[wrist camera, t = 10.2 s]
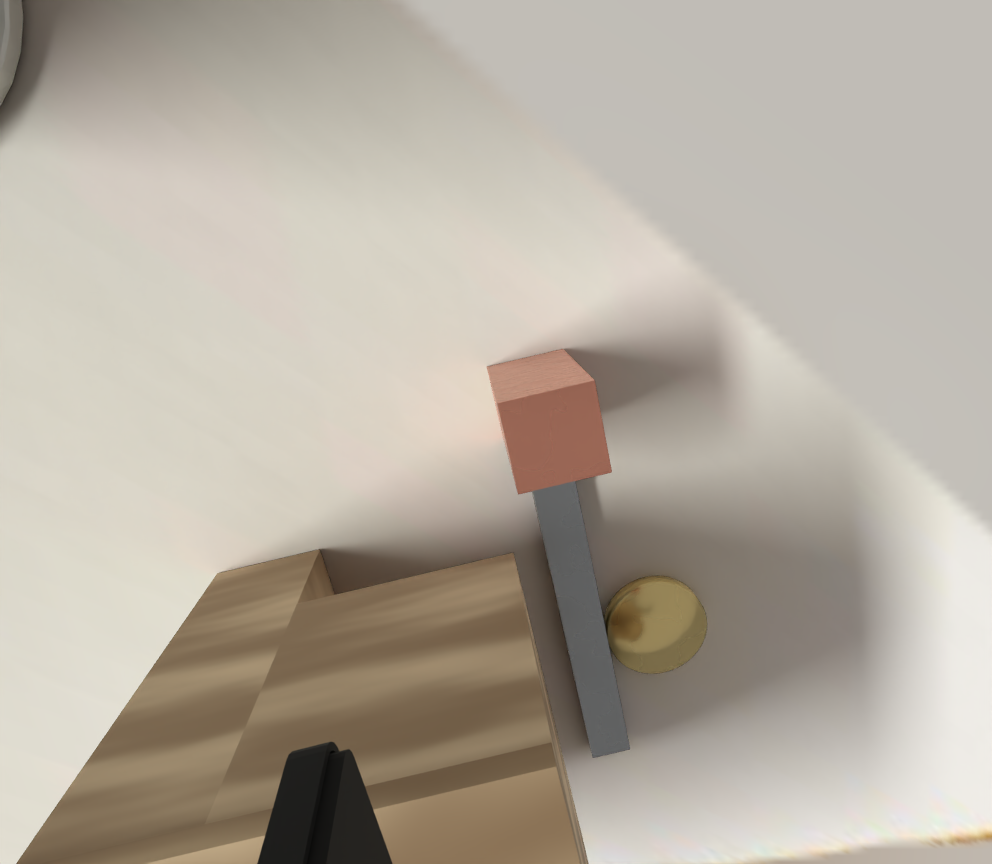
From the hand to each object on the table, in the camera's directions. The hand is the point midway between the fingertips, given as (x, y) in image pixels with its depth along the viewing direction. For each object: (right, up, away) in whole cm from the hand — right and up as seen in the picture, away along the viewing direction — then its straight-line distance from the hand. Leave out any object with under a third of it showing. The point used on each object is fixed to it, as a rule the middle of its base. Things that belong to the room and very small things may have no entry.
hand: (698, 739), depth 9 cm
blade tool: (+1, -2, +24) cm, 24 cm away
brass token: (+5, -5, +26) cm, 27 cm away
